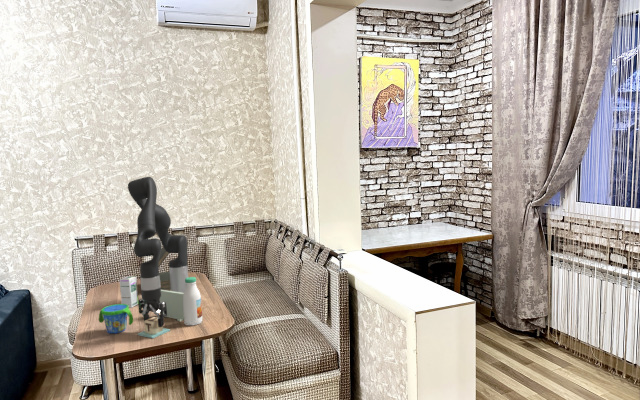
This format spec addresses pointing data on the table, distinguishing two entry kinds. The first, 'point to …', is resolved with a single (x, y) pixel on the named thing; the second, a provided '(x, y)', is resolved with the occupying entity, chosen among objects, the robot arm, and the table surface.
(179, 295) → the screen
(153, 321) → the letter cube
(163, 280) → the bible
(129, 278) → the syrup box
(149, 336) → the pad
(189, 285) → the milk bottle
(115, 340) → the table surface
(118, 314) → the snack cup
